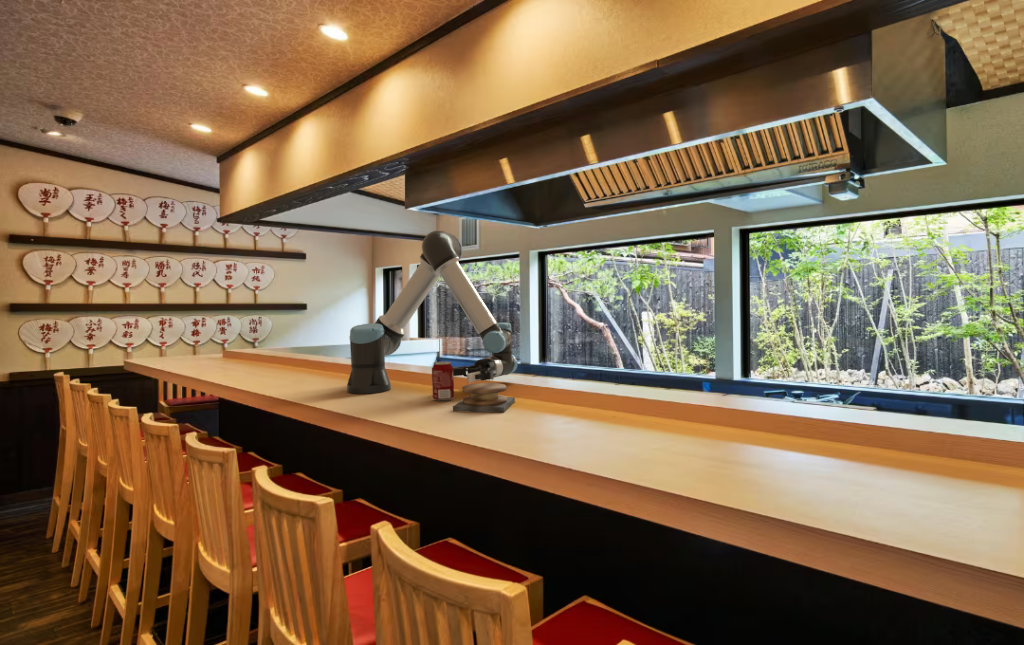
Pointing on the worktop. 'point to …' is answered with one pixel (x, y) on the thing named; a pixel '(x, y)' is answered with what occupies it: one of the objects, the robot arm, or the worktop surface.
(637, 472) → the worktop surface
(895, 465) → the worktop surface
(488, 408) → the spool
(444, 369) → the soda can
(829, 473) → the worktop surface
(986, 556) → the worktop surface
